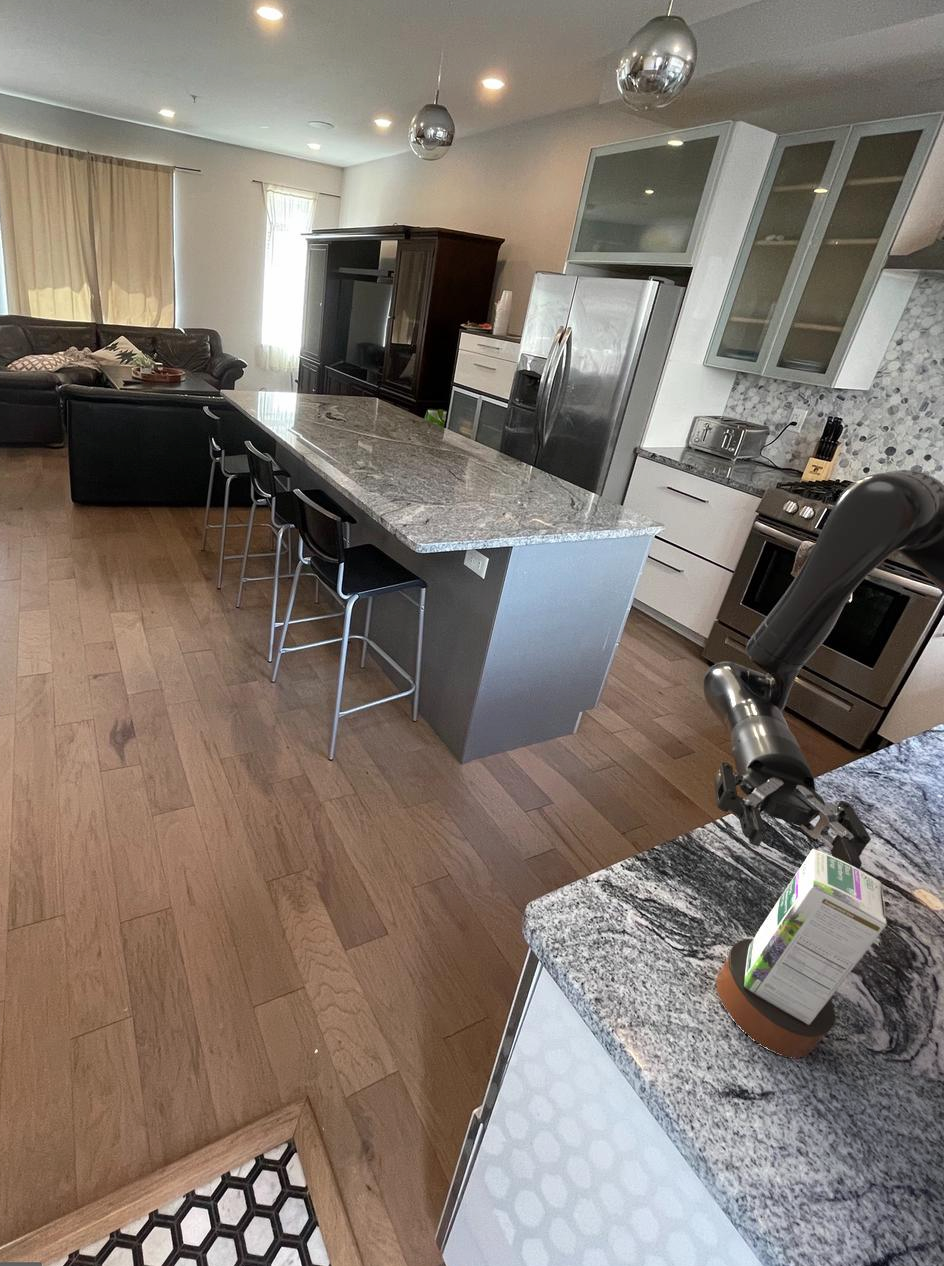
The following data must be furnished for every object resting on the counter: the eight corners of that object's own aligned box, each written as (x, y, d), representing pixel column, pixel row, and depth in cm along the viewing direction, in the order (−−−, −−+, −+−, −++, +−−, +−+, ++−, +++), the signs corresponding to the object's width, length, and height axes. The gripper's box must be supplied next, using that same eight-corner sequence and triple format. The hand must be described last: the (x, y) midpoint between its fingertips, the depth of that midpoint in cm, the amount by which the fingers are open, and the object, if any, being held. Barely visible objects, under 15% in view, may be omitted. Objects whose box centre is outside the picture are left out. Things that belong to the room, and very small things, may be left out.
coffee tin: (743, 949, 69) (758, 925, 67) (833, 1030, 62) (852, 1005, 60) (696, 987, 64) (711, 962, 62) (788, 1079, 57) (807, 1054, 56)
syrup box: (746, 944, 65) (809, 843, 59) (812, 981, 62) (884, 879, 56) (742, 988, 60) (809, 883, 54) (812, 1029, 58) (891, 924, 52)
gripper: (718, 716, 78) (743, 802, 64) (846, 755, 75) (902, 856, 61) (696, 762, 81) (715, 855, 67) (818, 802, 78) (865, 908, 64)
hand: (803, 855), depth 64 cm, fingers open, 8 cm apart
